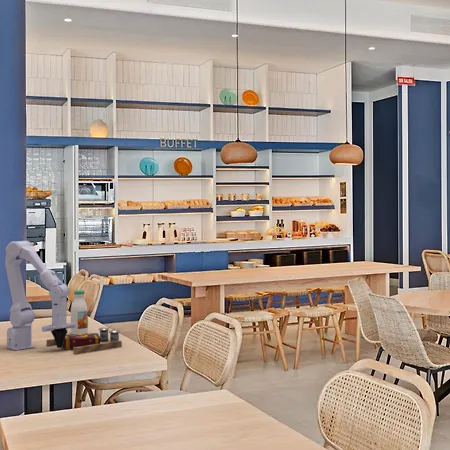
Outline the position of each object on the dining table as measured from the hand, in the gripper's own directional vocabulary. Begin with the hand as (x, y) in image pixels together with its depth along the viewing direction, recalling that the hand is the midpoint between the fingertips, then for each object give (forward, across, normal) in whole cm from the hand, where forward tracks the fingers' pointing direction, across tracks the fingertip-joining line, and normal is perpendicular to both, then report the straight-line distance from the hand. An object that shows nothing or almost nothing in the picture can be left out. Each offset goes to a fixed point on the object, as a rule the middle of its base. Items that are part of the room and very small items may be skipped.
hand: (59, 347), depth 274 cm
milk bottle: (+1, +25, +27) cm, 37 cm away
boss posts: (+1, +24, 0) cm, 24 cm away
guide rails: (+1, +12, 0) cm, 12 cm away
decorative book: (+2, +10, +1) cm, 10 cm away
